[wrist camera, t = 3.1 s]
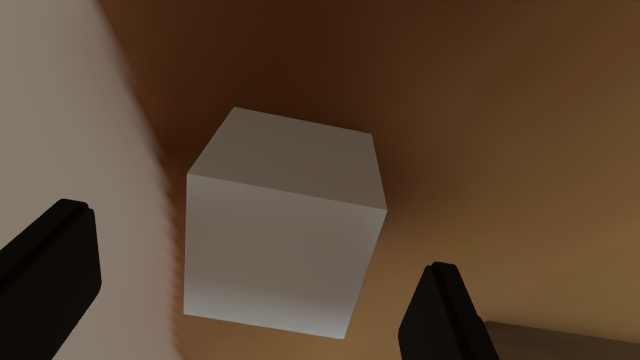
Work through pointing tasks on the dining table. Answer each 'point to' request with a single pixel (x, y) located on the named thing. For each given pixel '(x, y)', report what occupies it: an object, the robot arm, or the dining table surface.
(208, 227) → the off-white cube
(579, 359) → the walnut block
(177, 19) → the dining table surface
